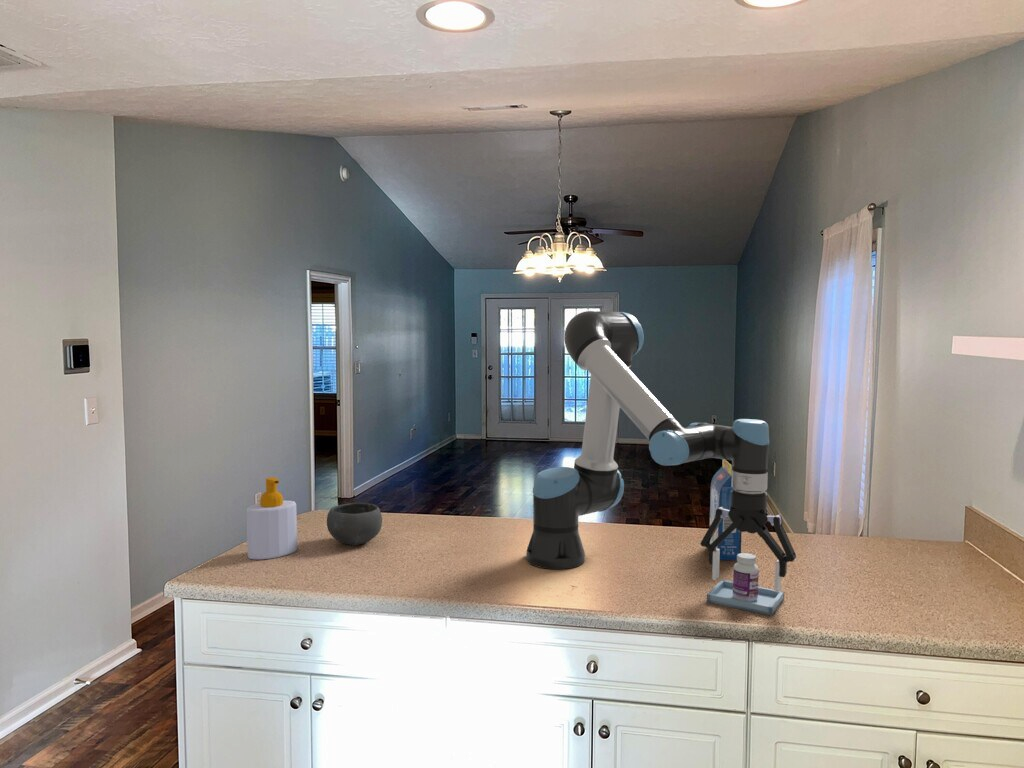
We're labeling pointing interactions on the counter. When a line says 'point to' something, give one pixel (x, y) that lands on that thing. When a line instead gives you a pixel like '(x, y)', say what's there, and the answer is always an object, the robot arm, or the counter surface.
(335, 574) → the counter surface
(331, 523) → the bowl
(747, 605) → the tray
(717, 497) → the blue food package
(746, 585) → the pill bottle
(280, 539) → the soap bottle
